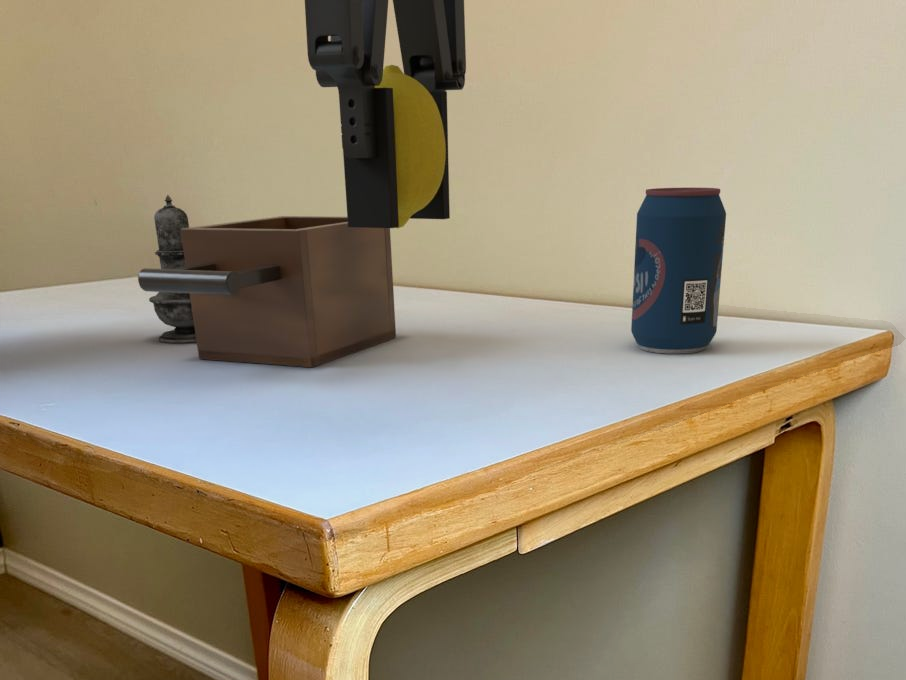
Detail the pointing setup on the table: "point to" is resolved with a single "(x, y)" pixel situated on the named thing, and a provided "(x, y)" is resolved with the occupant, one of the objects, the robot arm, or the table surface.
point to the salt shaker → (171, 254)
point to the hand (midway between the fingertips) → (400, 221)
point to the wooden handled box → (284, 289)
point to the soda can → (678, 269)
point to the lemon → (415, 142)
